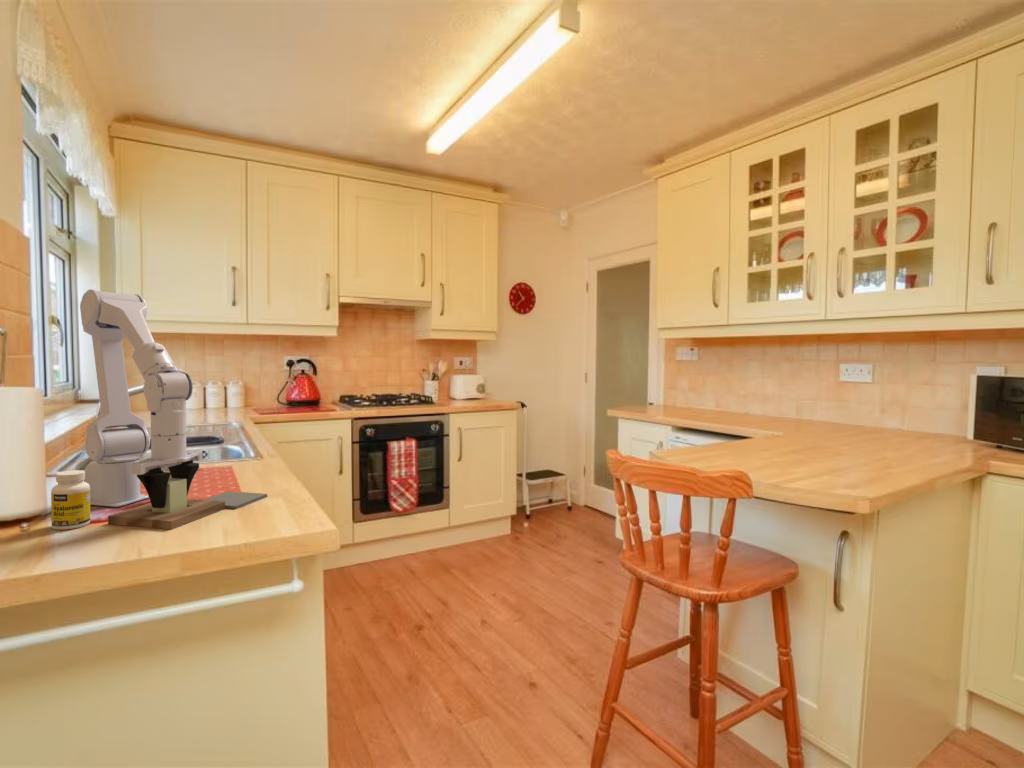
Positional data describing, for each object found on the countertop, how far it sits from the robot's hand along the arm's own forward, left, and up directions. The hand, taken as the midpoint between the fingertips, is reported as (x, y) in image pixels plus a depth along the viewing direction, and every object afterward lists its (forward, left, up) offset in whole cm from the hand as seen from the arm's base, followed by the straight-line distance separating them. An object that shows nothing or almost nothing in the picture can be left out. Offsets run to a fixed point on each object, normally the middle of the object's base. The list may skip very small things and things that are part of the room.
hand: (169, 503), depth 101 cm
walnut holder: (0, 0, -2) cm, 2 cm away
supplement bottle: (-12, -9, -3) cm, 15 cm away
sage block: (0, 0, -2) cm, 2 cm away
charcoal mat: (+4, +12, -2) cm, 13 cm away
